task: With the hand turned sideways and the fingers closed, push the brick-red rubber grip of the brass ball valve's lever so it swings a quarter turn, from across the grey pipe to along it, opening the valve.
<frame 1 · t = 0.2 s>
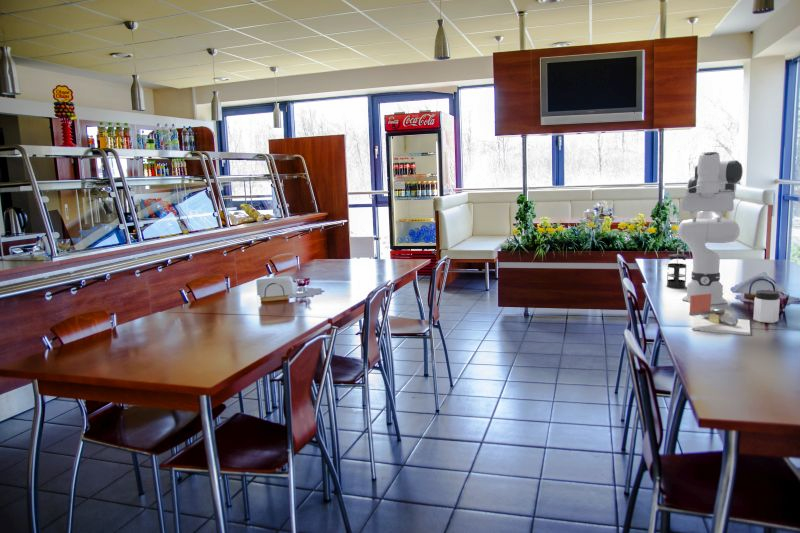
hand: (706, 222, 269), 40 cm above the table, tool pointing down, fingers open, 8 cm apart
mounting plate: (721, 326, 251), on the table
valve body: (718, 324, 254), resting on mounting plate
lever: (707, 303, 251), point 9 cm above the table, hinge at 0.0°
jar: (765, 321, 258), on the table
french press: (676, 287, 334), on the table
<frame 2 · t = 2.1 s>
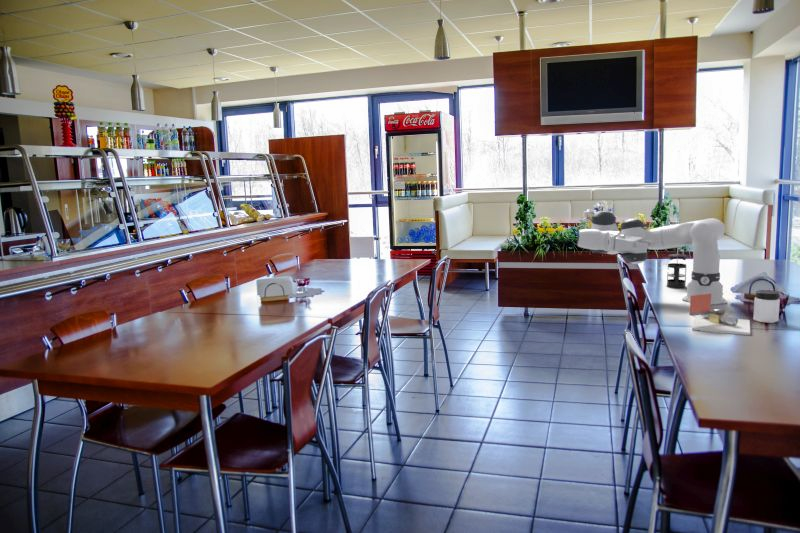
hand: (649, 244, 257), 32 cm above the table, tool horizontal, fingers open, 8 cm apart
nothing on the table moved.
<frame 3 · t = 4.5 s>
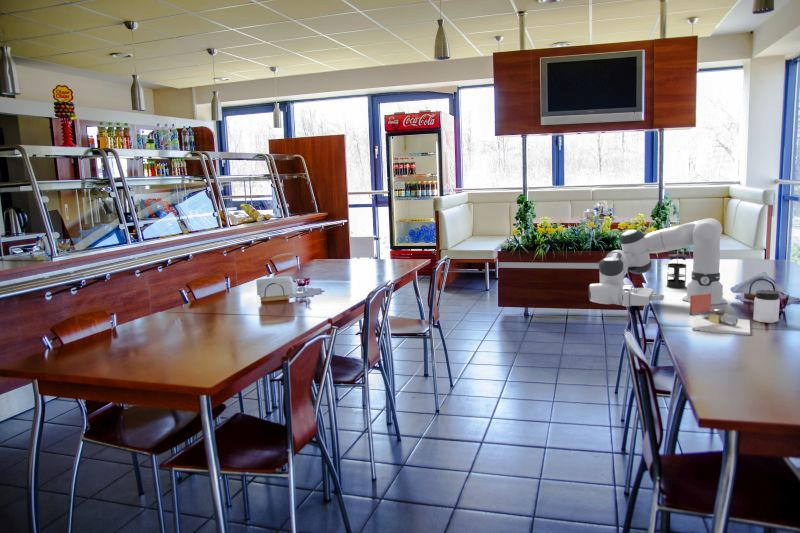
hand: (663, 297, 255), 11 cm above the table, tool horizontal, fingers closed
nothing on the table moved.
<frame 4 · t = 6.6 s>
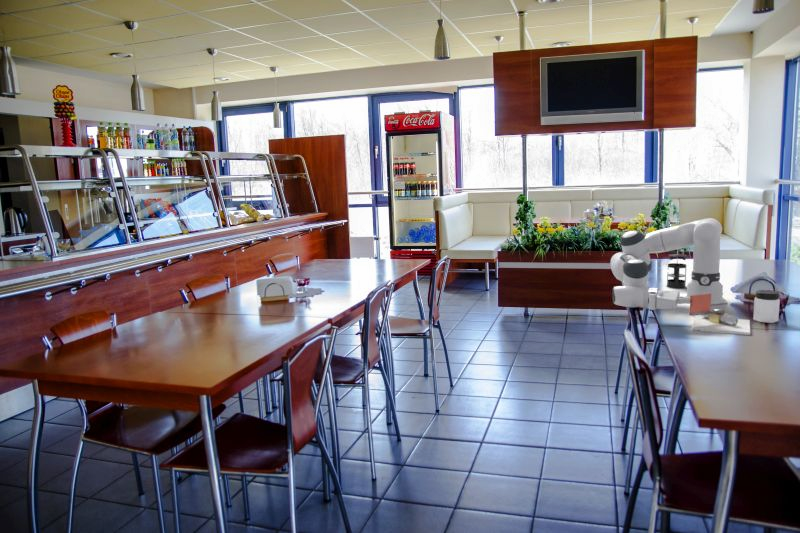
hand: (690, 300, 250), 10 cm above the table, tool horizontal, fingers closed
lever: (707, 303, 251), point 9 cm above the table, hinge at 0.0°, touching gripper
everything else where it was.
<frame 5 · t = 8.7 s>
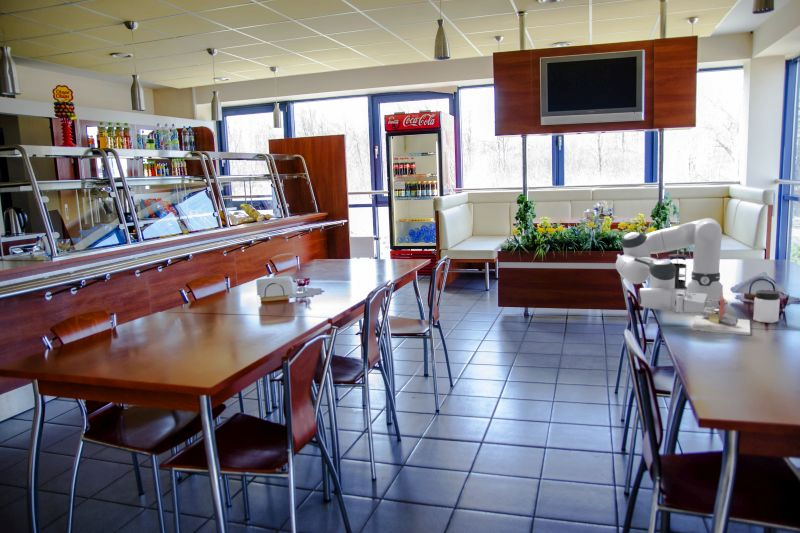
hand: (719, 303, 244), 10 cm above the table, tool horizontal, fingers closed
lever: (720, 305, 247), point 9 cm above the table, hinge at 49.3°, touching gripper
everything else where it was.
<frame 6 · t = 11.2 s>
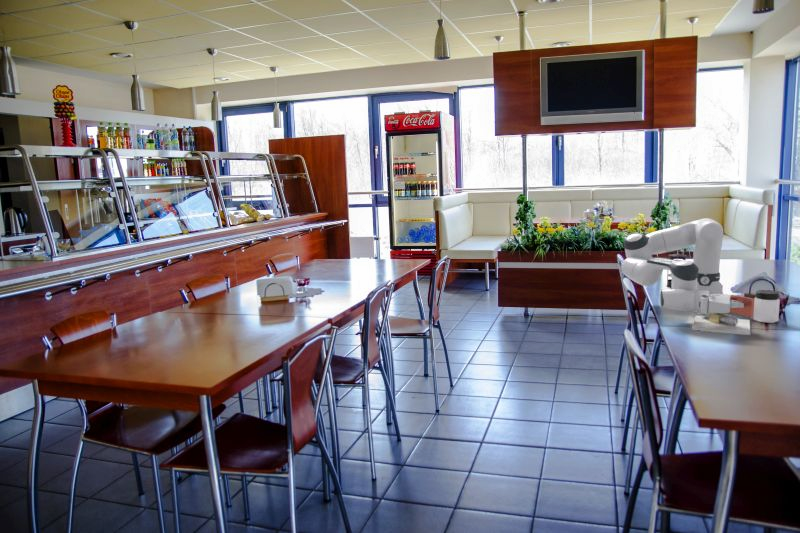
hand: (743, 304, 241), 10 cm above the table, tool horizontal, fingers closed
lever: (733, 305, 247), point 9 cm above the table, hinge at 99.6°, touching gripper
everything else where it was.
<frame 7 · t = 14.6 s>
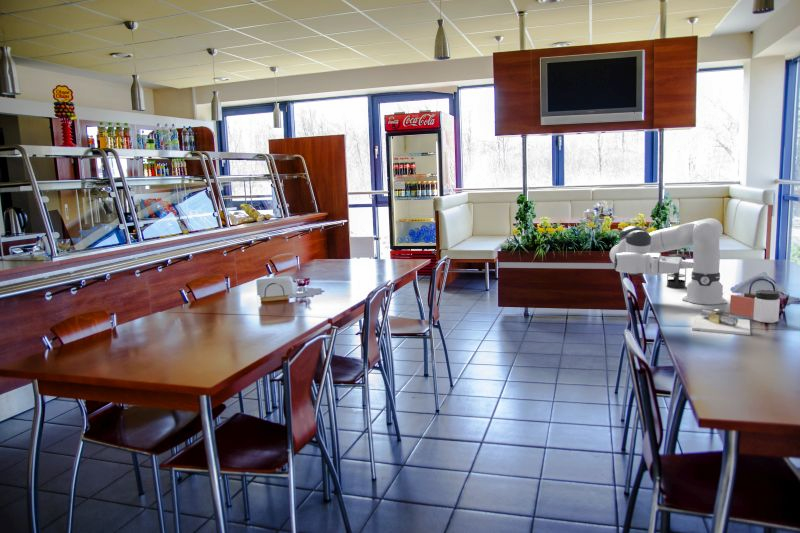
hand: (693, 265, 247), 25 cm above the table, tool horizontal, fingers closed
lever: (733, 305, 247), point 9 cm above the table, hinge at 99.6°
everything else where it was.
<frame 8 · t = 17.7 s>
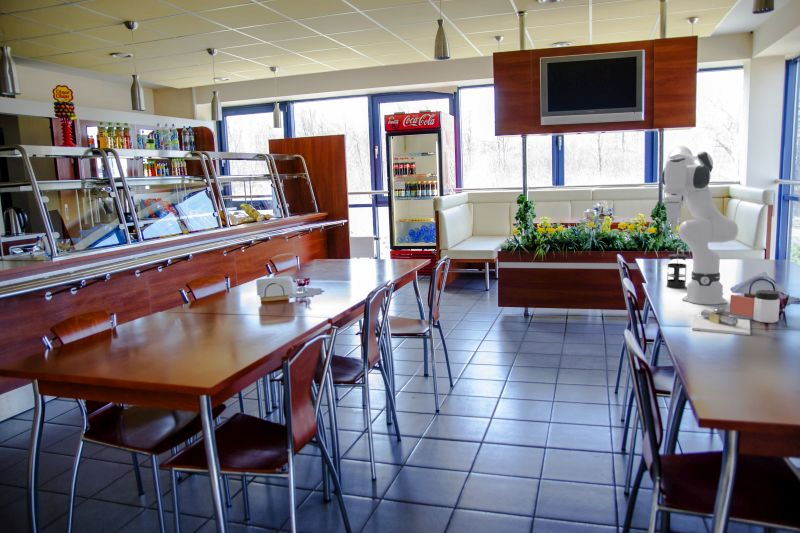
hand: (673, 229, 264), 37 cm above the table, tool pointing down, fingers closed
nothing on the table moved.
at the end: lever at +100° (first picture: +0°); jar moved 0.2 cm from its start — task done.
